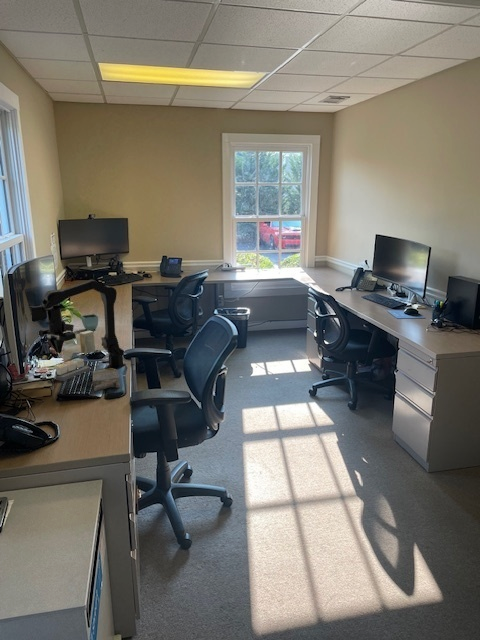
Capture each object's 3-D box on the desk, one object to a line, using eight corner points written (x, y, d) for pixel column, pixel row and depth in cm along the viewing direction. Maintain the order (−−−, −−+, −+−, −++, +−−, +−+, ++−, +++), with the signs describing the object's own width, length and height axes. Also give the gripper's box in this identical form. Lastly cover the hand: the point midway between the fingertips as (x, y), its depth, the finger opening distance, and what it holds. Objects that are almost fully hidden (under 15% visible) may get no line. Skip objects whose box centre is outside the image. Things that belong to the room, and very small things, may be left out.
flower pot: (99, 329, 298) (98, 316, 296) (85, 331, 293) (84, 318, 291) (95, 327, 305) (94, 313, 303) (82, 329, 300) (80, 315, 298)
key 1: (84, 366, 220) (83, 358, 219) (77, 368, 217) (76, 361, 216) (78, 364, 222) (77, 357, 221) (71, 367, 219) (70, 359, 218)
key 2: (75, 369, 216) (75, 361, 215) (69, 371, 213) (68, 364, 212) (69, 367, 218) (69, 360, 217) (63, 370, 215) (62, 362, 214)
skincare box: (91, 351, 251) (89, 330, 248) (96, 353, 248) (94, 331, 245) (80, 354, 246) (78, 332, 243) (85, 356, 243) (83, 333, 240)
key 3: (67, 372, 212) (66, 364, 211) (60, 375, 208) (59, 367, 208) (61, 370, 214) (60, 363, 213) (54, 373, 210) (53, 366, 210)
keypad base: (90, 370, 220) (90, 366, 220) (63, 381, 207) (62, 377, 206) (76, 367, 225) (75, 363, 225) (48, 378, 211) (47, 373, 211)
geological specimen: (93, 381, 193) (91, 368, 206) (94, 394, 195) (93, 381, 208) (119, 377, 196) (116, 365, 210) (120, 390, 198) (117, 377, 212)
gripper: (83, 317, 208) (86, 350, 211) (55, 313, 217) (59, 345, 220) (63, 322, 198) (67, 357, 202) (35, 318, 207) (39, 351, 211)
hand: (58, 352), depth 209 cm, fingers closed
